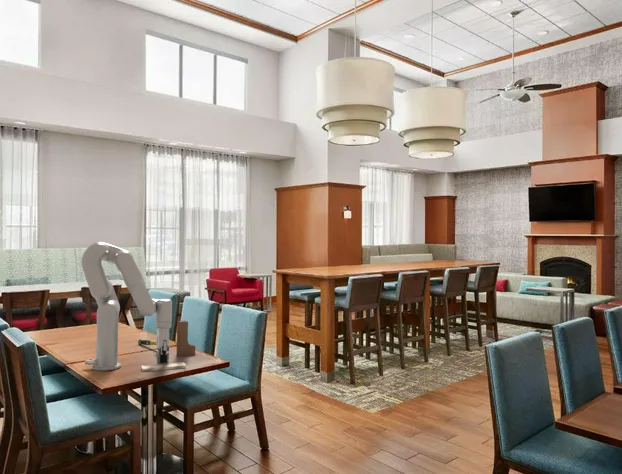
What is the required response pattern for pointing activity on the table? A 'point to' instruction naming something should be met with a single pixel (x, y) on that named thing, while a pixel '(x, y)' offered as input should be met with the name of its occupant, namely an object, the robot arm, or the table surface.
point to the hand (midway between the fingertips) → (162, 361)
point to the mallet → (148, 343)
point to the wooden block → (183, 340)
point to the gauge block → (159, 358)
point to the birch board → (163, 366)
